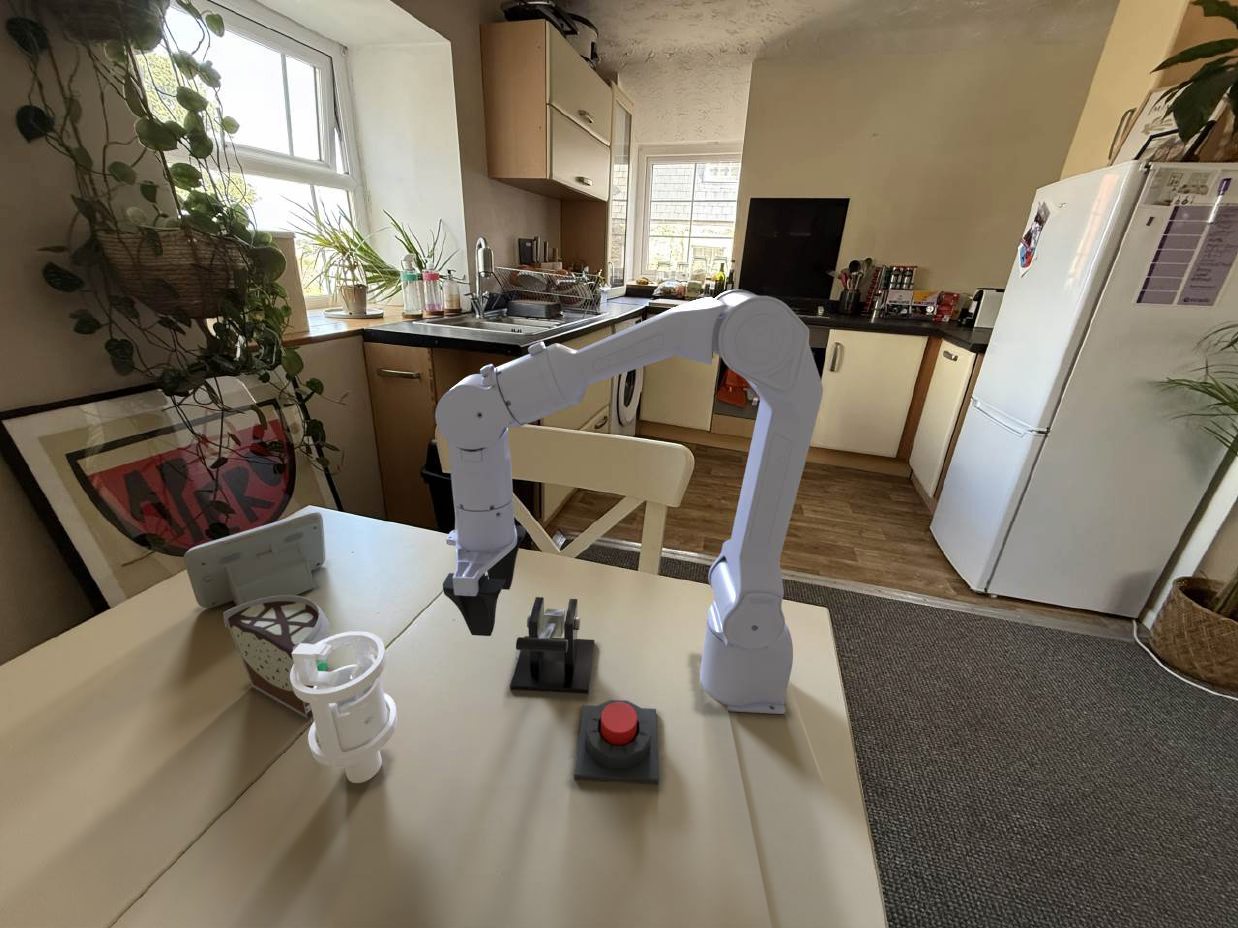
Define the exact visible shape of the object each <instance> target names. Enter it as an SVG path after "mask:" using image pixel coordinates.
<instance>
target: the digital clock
mask: <svg viewBox="0 0 1238 928" xmlns="http://www.w3.org/2000/svg"><path fill="white" fill-rule="evenodd" d="M324 527H325V526H324V518H323V515H322V513H320V512H317V511H309V512H304V513H301V514H297V515H293V516H289V517H287V518H283V519H281V520H277V521H273V522H271V523H270V522H269V523H267V524H264V525H259V526H257V527H254V528H250V529H247V530H244V531H241V532H238V533H233V534H231V535H228V536H224V537H221V538H218V539H215V540H211V541H207V542H205V543H201V544H198V545H196V546H193V547H191V548H190V549H188V550H187V551H186V552H184V553H185V554H183V563H184V566H185V569H186V572H187V576H188V578H189V582H190V585H191V588H192V591H193V594H194V598H195V601H196V603H197V605H198V606H200V607H201V608H204V609H212V608H215V607H219V606H222V605H224V604H227V603H229V602H232V601H233V602H234V604H235V605H236V606H239V605H241V604H244V603H247V602H250V601H253V600H257V599H261V598H266V597H271V596H279V595H296V596H299V595H300V594H303V593H306V592H308V591H310V590H312V589H316V586H315V582H314V578H313V573H312V571H314V570H316V569H319V568H320V567H322V566H323V565H324V564H325V562H326V558H327V557H326V544H325V542H326V541H325V529H324Z"/></svg>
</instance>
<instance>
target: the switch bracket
mask: <svg viewBox="0 0 1238 928" xmlns="http://www.w3.org/2000/svg"><path fill="white" fill-rule="evenodd" d="M544 613H545V597H544V596H543V597H542V596H541V597H540V596H535V597H534V601H533V604H532V608H531V611H530V613H529V614H528V615H527V619H526V627H527V629H528V632H527V633H528V635H524V636H523V637H525V638H538V637H539V635H540V634H541V632H542V623H543V614H544ZM580 628H581V617H580V616H579V617H578V599H577V598H569V599H568V602H567V607H566V611H565V622H564V631H563V637H553V639H563V640H568V647H567V652H547V651H528V650H519V653H518V655H517V660H516V663H515V665H514V670H513V672H512V676H511V679H510V683H509V691H510V690H511V691H512V690H513V691H529V692H547V693H548V692H549V693H550V692H551V693H566V694H567V693H568V694H582V695H583V694H585V695H589V693H590V687H591V686H590V685H591V678H592V677H591V676H592V668H593V658H594V650H595V639H587V638H578V631H580Z"/></svg>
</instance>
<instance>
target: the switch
mask: <svg viewBox="0 0 1238 928" xmlns="http://www.w3.org/2000/svg"><path fill="white" fill-rule="evenodd" d="M565 617H566V609H564V608H563V609H562V608H560V609H559V608H546V609H545V610H544V614H543V623H542V632H541V634H540V635H539V637H538V638H525V637H524V636H517V638H516V641H515V649H516V651H520V650H528V651H547V652H567V647H568V640H563V639H553V638H562V636H563V635H564V622H565Z"/></svg>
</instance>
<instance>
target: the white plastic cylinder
mask: <svg viewBox="0 0 1238 928" xmlns="http://www.w3.org/2000/svg"><path fill="white" fill-rule="evenodd" d="M341 645H345V646H353V650H354V652H355V658H356V663H354V664H348V665H344V666H341V667H339V668H336V669H334V670H331V671H329V670H328V671H318V669H317V665H316V661H315V659H320V660H326V659H327V658H328V657H329V656H330V655H331V653H332V652H333V651H334V650H336V649H338V648H339V647H340V646H341ZM370 648H372V649H374V650H375V651H376V652H377V656H376V655H375V653H371V649H370ZM292 657H293V661H294V664H293V666H292V668H291V672H290V680H291V684H292V687H293V691H294V693H295V695H296V696H297V697H298V698H299V699H301V700H302V701H304V702H307V703H310V706H311V709H312V713H313V714H312V716H313V722H312V724H311V725H310V727H309V731H308V734H307V735H308V736H307V741H308V745H309V749H310V752H311V755H312V757H313V759H314V760H315V761H316V762H317V763H319V764H320V765H323V766H326V767H330V768H340V767H341V768H344V772H345V775H346V778H347V780H348V781H349V782H350V783H353V784H361V783H364V782H367V781H369V780H371V779H372V778H373V777H374V776H376V775H377V774H378V772H379V771H380V770H381V767H382V764H383V760H382V755H381V751H380V750H381V749H382V748H383V747H384V746H385V745H386V744H387V743H388V742H389V741H390V739H391V738H392V736H393V735H394V733H395V731H396V728H397V724H398V712H397V706H396V703H395V701H394V699H393V697H391V696H390V694H388V693H386V692H384V687H383V683H382V678H381V675H382V673H383V672H384V669H385V667H386V664H387V653H386V647H385V644H384V641H383V640H382V639H381V638H380V636H378V635H376V634H375V633H372V632H368V631H363V630H361V631H360V630H353V631H345V632H341V633H337V634H334V635H331V636H327V638H326V639H323V640H321V641H319V642H318V643H316V644H305V643H300V644H299V645H298V646H297V647H296V648H295V649H294V651H293V652H292ZM304 685H310V686H314V687H313V688H309V687H307V686H304ZM388 711H389V714H388ZM318 741H319V744H320V746H319V745H318Z"/></svg>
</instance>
